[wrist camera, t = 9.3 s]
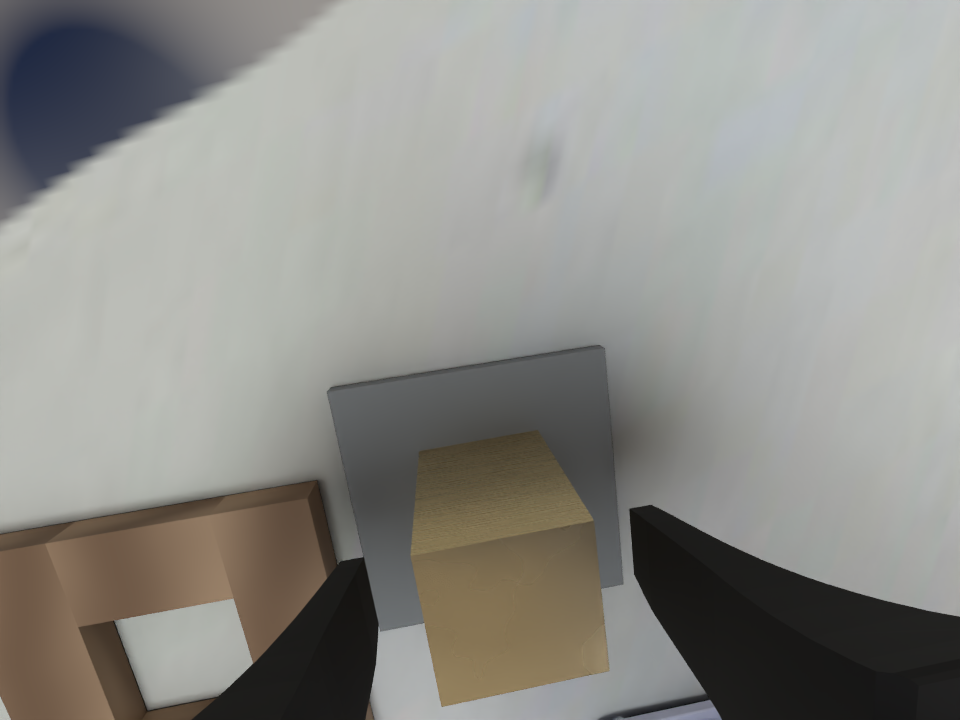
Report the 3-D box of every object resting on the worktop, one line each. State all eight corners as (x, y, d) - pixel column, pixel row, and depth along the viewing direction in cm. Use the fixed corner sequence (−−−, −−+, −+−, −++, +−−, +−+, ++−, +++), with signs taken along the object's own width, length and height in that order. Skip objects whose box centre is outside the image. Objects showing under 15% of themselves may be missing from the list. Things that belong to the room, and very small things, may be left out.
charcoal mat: (599, 345, 15) (604, 348, 15) (618, 575, 17) (623, 584, 17) (330, 387, 15) (327, 391, 14) (381, 621, 17) (380, 631, 16)
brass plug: (537, 429, 15) (594, 520, 10) (551, 535, 16) (609, 670, 11) (419, 451, 15) (410, 555, 10) (439, 556, 16) (441, 706, 10)
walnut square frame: (317, 480, 15) (307, 498, 14) (376, 731, 18) (372, 764, 17) (-22, 537, 15) (-62, 562, 13) (87, 792, 17) (62, 831, 16)
